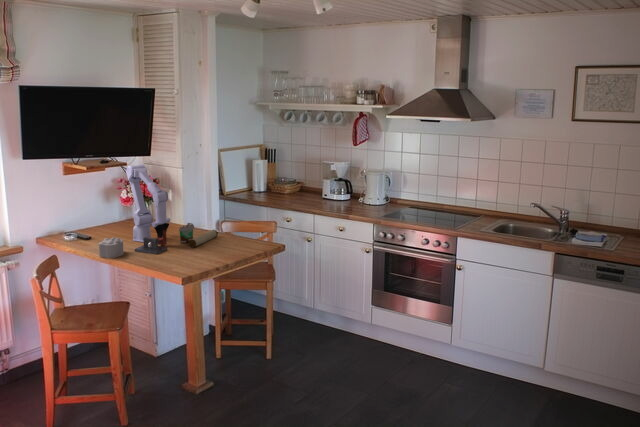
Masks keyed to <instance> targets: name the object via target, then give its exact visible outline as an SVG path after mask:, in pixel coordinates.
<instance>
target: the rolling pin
mask: <svg viewBox="0 0 640 427" xmlns="http://www.w3.org/2000/svg"><path fill="white" fill-rule="evenodd" d="M218 234H219V232H218V231H217V230H216V229H211V230H209V231H207V232H205V233H203V234H200V235H199V236H198V235H197V236H196V237H193V239H190V240H189V243H187V244H186V245H187V247H190V248H194V249H195V247H197V246H199V245H202V244H204V243H206V242H208V241H210V240H212V239H214V238H217V237H218Z"/></svg>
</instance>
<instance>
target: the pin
mask: <svg viewBox="0 0 640 427" xmlns="http://www.w3.org/2000/svg"><path fill="white" fill-rule="evenodd" d="M156 236H157V237H156V239H158V246H165V245H167V232H166V230H163V231H162V238H158V235H157V234H156ZM150 246H152V243H151V242H150V243H149V244H148V247H150Z"/></svg>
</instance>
